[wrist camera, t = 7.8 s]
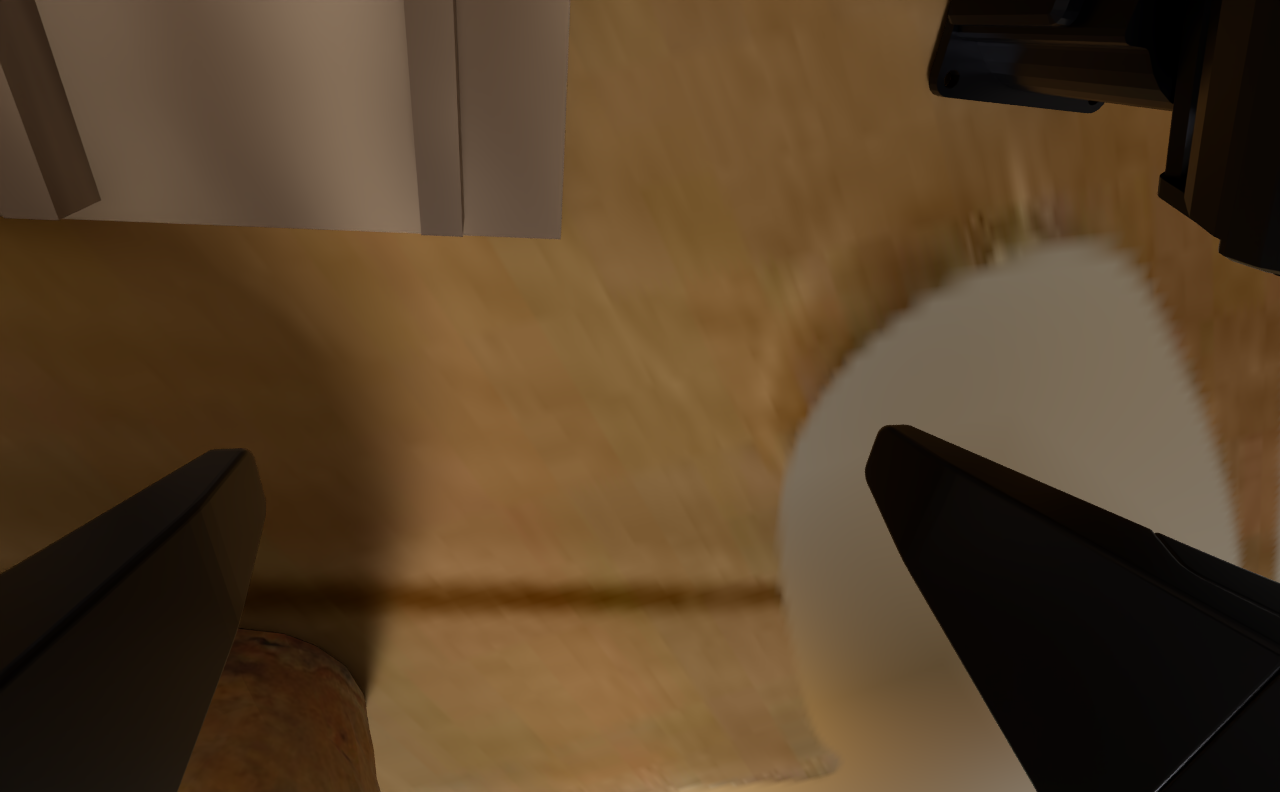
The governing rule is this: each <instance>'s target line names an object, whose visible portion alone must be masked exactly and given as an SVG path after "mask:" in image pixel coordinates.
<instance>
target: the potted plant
mask: <svg viewBox="0 0 1280 792" xmlns="http://www.w3.org/2000/svg"><path fill="white" fill-rule="evenodd" d="M178 792H380V788H379V785H378V782H377V777H376V768H375V758H374V749H373V744H372V739H371V734H370V730H369V724H368V717H367V711H366V704H365V698H364V695H363V693H362V691H361V690H360V688H359V687H358V685H357V684H356V682H355V680H354V679H353V677H352V676H351V674H350V673H349V671H348V669H347V668H346V666H345V665H343V664H342V663H340V662H339V661H337V660H336V659H334V658H333V657H331V656H330V655H328V654H327V653H325V652H324V651H322V650H321V649H320V648H318V647H317V646H315V645H312V644H310V643H307V642H304V641H302V640H299V639H296V638H294V637H291V636H288V635H286V634H280V633H272V632H263V631H255V630H246V629H238V630H237V633H236V636H235V639H234V642H233V645H232V648H231V650H230V653H229V656H228V658H227V661H226V664H225V666H224V669H223V672H222V674H221V677H220V680H219V682H218V685H217V688H216V690H215V693H214V696H213V698H212V701H211V704H210V706H209V709H208V712H207V714H206V717H205V720H204V723H203V725H202V728H201V731H200V733H199V736H198V739H197V741H196V744H195V747H194V749H193V752H192V755H191V757H190V760H189V763H188V765H187V768H186V771H185V773H184V776H183V779H182V781H181V784H180V787H179V789H178Z"/></svg>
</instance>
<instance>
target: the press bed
mask: <svg viewBox="0 0 1280 792" xmlns="http://www.w3.org/2000/svg"><path fill="white" fill-rule="evenodd" d="M569 20H570V0H0V216H3V217H4V218H15V219H40V220H61V219H79V220H104V221H128V222H152V223H177V224H201V225H225V226H250V227H274V228H298V229H323V230H347V231H371V232H396V233H420V234H421V235H434V236H459V237H463V235H469V236H493V237H518V238H542V239H561V219H562V194H563V169H564V144H565V119H566V94H567V70H568V45H569Z"/></svg>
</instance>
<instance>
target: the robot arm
mask: <svg viewBox="0 0 1280 792" xmlns="http://www.w3.org/2000/svg"><path fill="white" fill-rule="evenodd" d="M948 72H951V79H950V81H949V83H948V84H947V85H946V86H945V84H944V78H945V76H946V75H947V73H948ZM929 88H930V91H931V92H932V93H933V94H934V95H937V96H941V97H948V98H957V99H966V100H974V101H983V102H992V103H1001V104H1010V105H1019V106H1028V107H1036V108H1045V109H1054V110H1063V111H1072V112H1081V113H1093V112H1095V111H1097V110H1098V109H1099V108H1100V107H1101V106H1102V105H1103V104H1104V103H1105V102H1106V103H1114V104H1122V105H1129V106H1137V107H1144V108H1152V109H1159V110H1167V111H1172V119H1171V128H1170V136H1169V144H1168V152H1167V161H1166V169H1165V172H1163V173H1162V174H1161V175H1160V178H1159V186H1158V197H1160V198H1161V199H1162V200H1164V201H1165V202H1167V203H1168V204H1170V205H1171V206H1173V207H1174V208H1175V209H1177V210H1178V211H1180V212H1181V213H1183V214H1184V215H1186V216H1187V217H1188V218H1190V219H1191V220H1193V221H1194V222H1196V223H1197V224H1198V225H1200V226H1201V227H1202V228H1204V229H1205V230H1206V231H1207V232H1209V233H1210V234H1211V235H1213V236H1214V237H1216V238H1218V239H1220V243H1219V248H1218V249H1219V253H1220V254H1222V255H1223V256H1225V257H1227V258H1228V259H1230V260H1232V261H1234V262H1237V263H1240V264H1243V265H1246V266H1249V267H1252V268H1255V269H1259V270H1262V271H1265V272H1269V273H1273V274H1275V275H1277V276H1280V0H952V1H951V4H950V7H949V11H948V18H947V22H946V25H945V28H944V32H943V35H942V38H941V41H940V45H939V48H938V51H937V54H936V58H935V61H934V64H933V67H932V71H931V74H930V78H929ZM865 477H866V481H867V484H868V486H869V488H870V490H871V493H872V495H873V497H874V499H875V501H876V503H877V506H878V508H879V510H880V512H881V514H882V517H883V519H884V521H885V523H886V525H887V528H888V530H889V532H890V534H891V536H892V539H893V541H894V543H895V545H896V547H897V549H898V551H899V554H900V555H901V557H902V560H903V562H904V564H905V565H906V567H907V569H908V571H909V572H910V574H911V576H912V578H913V579H914V581H915V583H916V585H917V586H918V588H919V590H920V592H921V593H922V595H923V597H924V598H925V600H926V602H927V604H928V605H929V607H930V609H931V611H932V612H933V614H934V616H935V617H936V619H937V621H938V622H939V624H940V626H941V628H942V629H943V631H944V633H945V635H946V636H947V638H948V640H949V641H950V643H951V645H952V647H953V648H954V650H955V652H956V653H957V655H958V657H959V659H960V660H961V662H962V664H963V665H964V667H965V669H966V671H967V672H968V674H969V676H970V678H971V679H972V681H973V683H974V684H975V686H976V688H977V690H978V691H979V693H980V695H981V696H982V698H983V700H984V702H985V703H986V705H987V707H988V708H989V710H990V712H991V714H992V715H993V717H994V719H995V721H996V722H997V724H998V726H999V727H1000V729H1001V731H1002V732H1003V734H1004V736H1005V738H1006V739H1007V741H1008V743H1009V745H1010V746H1011V748H1012V750H1013V752H1014V753H1015V755H1016V757H1017V758H1018V760H1019V762H1020V763H1021V765H1022V767H1023V769H1024V770H1025V772H1026V774H1027V775H1028V777H1029V779H1030V781H1031V782H1032V784H1033V786H1034V788H1035V789H1036V791H1037V792H1280V583H1278V582H1276V581H1273V580H1271V579H1268V578H1266V577H1263V576H1261V575H1258V574H1256V573H1253V572H1251V571H1248V570H1246V569H1243V568H1241V567H1238V566H1236V565H1233V564H1231V563H1229V562H1226V561H1224V560H1221V559H1219V558H1217V557H1214V556H1212V555H1210V554H1207V553H1205V552H1202V551H1200V550H1198V549H1195V548H1193V547H1190V546H1188V545H1186V544H1183V543H1181V542H1179V541H1177V540H1174V539H1172V538H1170V537H1167V536H1165V535H1163V534H1160V533H1154V532H1153V531H1152V530H1150V529H1148V528H1146V527H1144V526H1142V525H1139V524H1137V523H1134V522H1132V521H1130V520H1128V519H1125V518H1123V517H1121V516H1118V515H1116V514H1114V513H1112V512H1109V511H1107V510H1104V509H1102V508H1100V507H1098V506H1095V505H1093V504H1091V503H1088V502H1086V501H1084V500H1081V499H1079V498H1077V497H1074V496H1072V495H1070V494H1068V493H1065V492H1063V491H1061V490H1058V489H1056V488H1053V487H1051V486H1049V485H1047V484H1044V483H1042V482H1040V481H1037V480H1035V479H1033V478H1031V477H1028V476H1026V475H1024V474H1021V473H1019V472H1017V471H1014V470H1012V469H1010V468H1007V467H1005V466H1003V465H1000V464H998V463H996V462H993V461H991V460H989V459H987V458H984V457H982V456H980V455H977V454H975V453H972V452H970V451H968V450H966V449H963V448H961V447H959V446H956V445H954V444H952V443H949V442H947V441H945V440H943V439H940V438H938V437H936V436H933V435H931V434H928V433H926V432H924V431H921V430H919V429H917V428H915V427H912V426H909V425H886V426H884V427H882V428H881V429H880V430H879V432H878V434H877V436H876V439H875V442H874V444H873V447H872V450H871V453H870V455H869V458H868V461H867V464H866V467H865ZM265 515H266V500H265V496H264V492H263V488H262V484H261V481H260V477H259V473H258V469H257V465H256V462H255V458H254V456H253V454H252V453H251V451H249V450H248V449H245V448H236V449H214V450H210V451H208V452H206V453H204V454H203V455H201V456H199V457H198V458H196V459H194V460H193V461H191V462H189V463H188V464H186V465H184V466H183V467H181V468H179V469H177V470H176V471H174V472H172V473H171V474H169V475H167V476H166V477H164V478H162V479H161V480H159V481H157V482H155V483H154V484H152V485H150V486H149V487H147V488H145V489H144V490H142V491H140V492H139V493H137V494H135V495H134V496H132V497H130V498H128V499H127V500H125V501H123V502H122V503H120V504H118V505H117V506H115V507H113V508H112V509H110V510H108V511H107V512H105V513H103V514H101V515H100V516H98V517H96V518H95V519H93V520H91V521H90V522H88V523H86V524H85V525H83V526H81V527H79V528H78V529H76V530H74V531H73V532H71V533H69V534H68V535H66V536H64V537H63V538H61V539H59V540H57V541H56V542H54V543H52V544H51V545H49V546H47V547H46V548H44V549H42V550H41V551H39V552H37V553H35V554H34V555H32V556H30V557H29V558H27V559H25V560H24V561H22V562H20V563H19V564H17V565H15V566H13V567H12V568H10V569H8V570H7V571H5V572H3V573H2V574H0V792H178V789H179V787H180V784H181V781H182V779H183V776H184V773H185V771H186V768H187V765H188V763H189V760H190V757H191V755H192V752H193V749H194V747H195V744H196V741H197V739H198V736H199V733H200V731H201V728H202V725H203V723H204V720H205V717H206V714H207V712H208V709H209V706H210V704H211V701H212V698H213V696H214V693H215V690H216V688H217V685H218V682H219V680H220V677H221V674H222V672H223V669H224V666H225V664H226V661H227V658H228V656H229V653H230V650H231V648H232V645H233V642H234V639H235V636H236V633H237V630H238V627H239V624H240V621H241V617H242V613H243V609H244V605H245V601H246V597H247V593H248V588H249V584H250V580H251V576H252V571H253V567H254V563H255V559H256V554H257V550H258V546H259V542H260V537H261V533H262V529H263V525H264V521H265Z"/></svg>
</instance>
